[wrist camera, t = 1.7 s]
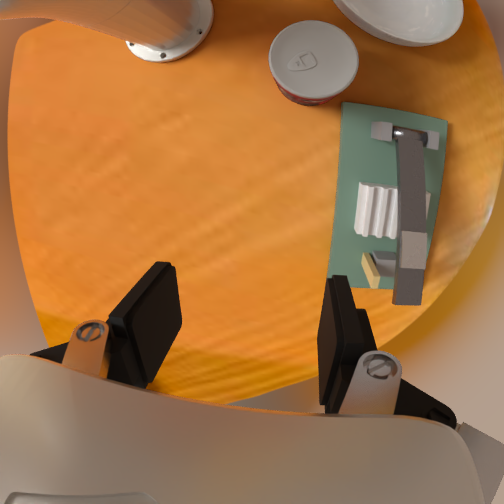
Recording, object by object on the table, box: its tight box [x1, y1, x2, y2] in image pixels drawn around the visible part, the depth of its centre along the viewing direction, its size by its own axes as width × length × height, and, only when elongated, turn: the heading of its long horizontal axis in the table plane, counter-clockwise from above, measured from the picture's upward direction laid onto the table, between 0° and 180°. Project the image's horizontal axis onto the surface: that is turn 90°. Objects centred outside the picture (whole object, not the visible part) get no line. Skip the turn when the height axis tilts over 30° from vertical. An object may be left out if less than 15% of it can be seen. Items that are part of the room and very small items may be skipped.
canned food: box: [269, 20, 359, 106], centre depth 26 cm, size 8×8×11 cm
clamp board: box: [326, 102, 448, 289], centre depth 32 cm, size 24×14×8 cm, turn 179°
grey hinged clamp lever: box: [392, 125, 427, 305], centre depth 27 cm, size 19×4×2 cm, turn 0°
